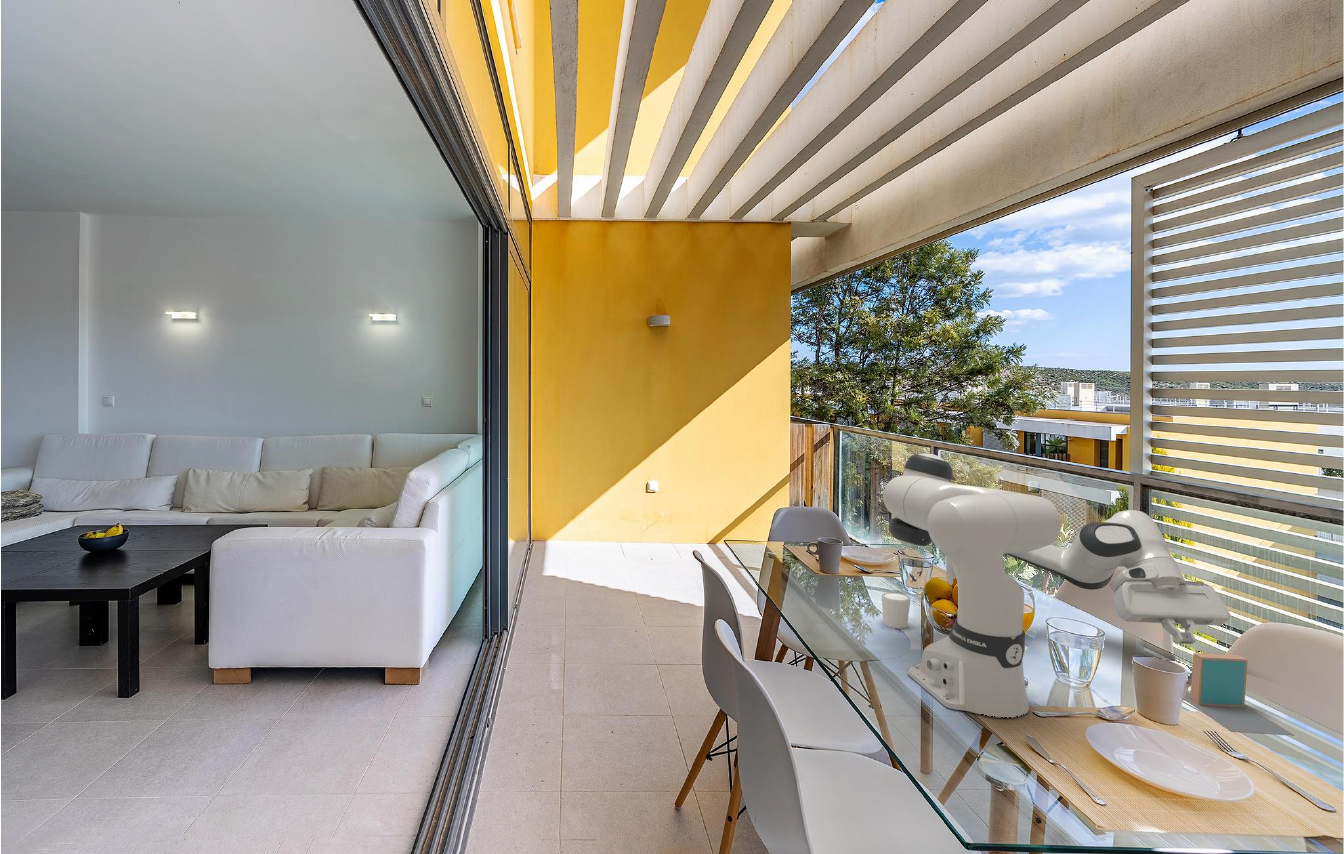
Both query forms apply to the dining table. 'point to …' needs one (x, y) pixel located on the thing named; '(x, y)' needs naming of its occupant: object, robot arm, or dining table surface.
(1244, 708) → the mat
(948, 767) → the dining table surface
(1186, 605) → the robot arm
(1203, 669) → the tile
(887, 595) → the white cylinder
